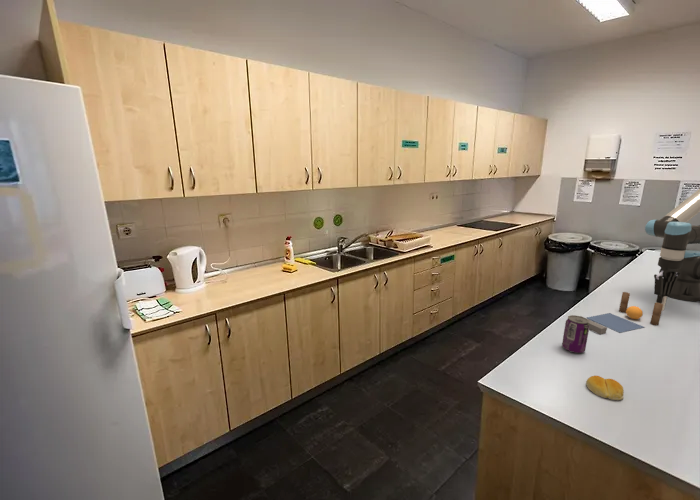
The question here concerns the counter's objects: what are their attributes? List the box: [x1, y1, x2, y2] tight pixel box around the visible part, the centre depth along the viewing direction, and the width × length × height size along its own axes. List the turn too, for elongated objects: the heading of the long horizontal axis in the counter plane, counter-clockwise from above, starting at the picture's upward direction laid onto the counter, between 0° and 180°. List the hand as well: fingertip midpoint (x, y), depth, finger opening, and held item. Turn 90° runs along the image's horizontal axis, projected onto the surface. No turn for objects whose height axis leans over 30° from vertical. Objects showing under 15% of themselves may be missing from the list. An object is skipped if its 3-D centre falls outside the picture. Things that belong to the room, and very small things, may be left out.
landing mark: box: [586, 312, 645, 334], centre depth 141 cm, size 14×14×1 cm
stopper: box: [580, 315, 608, 335], centre depth 137 cm, size 3×11×2 cm, turn 18°
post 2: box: [649, 302, 663, 326], centre depth 139 cm, size 3×3×9 cm
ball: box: [625, 305, 644, 320], centre depth 144 cm, size 6×6×6 cm
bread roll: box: [585, 375, 625, 401], centre depth 100 cm, size 8×9×4 cm
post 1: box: [618, 291, 631, 314], centre depth 150 cm, size 3×3×9 cm
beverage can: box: [561, 314, 590, 354], centre depth 121 cm, size 7×7×12 cm
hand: (659, 309), depth 149 cm, fingers closed
